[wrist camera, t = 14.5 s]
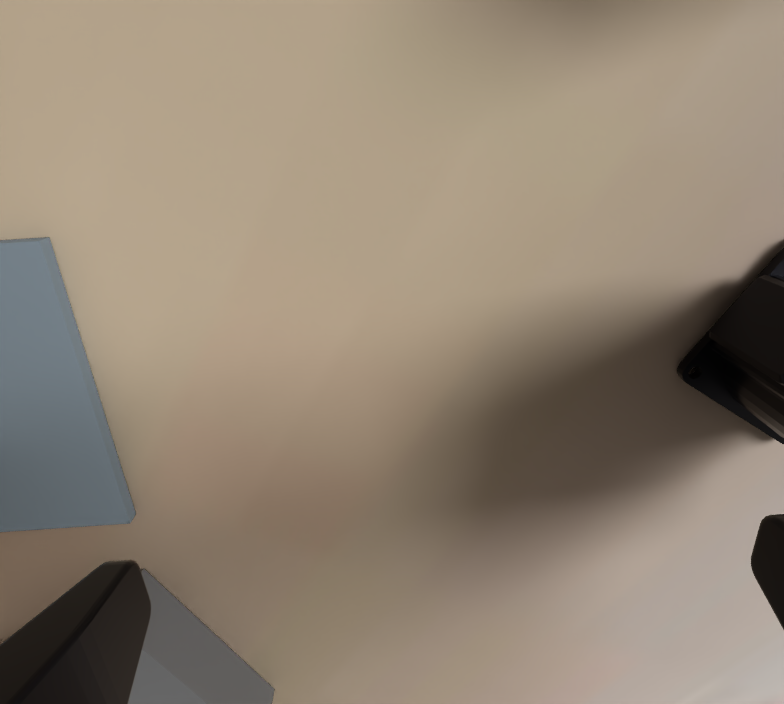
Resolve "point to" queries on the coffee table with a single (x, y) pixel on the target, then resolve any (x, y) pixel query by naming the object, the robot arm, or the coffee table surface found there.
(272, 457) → the coffee table surface
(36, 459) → the mat
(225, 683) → the socket block
